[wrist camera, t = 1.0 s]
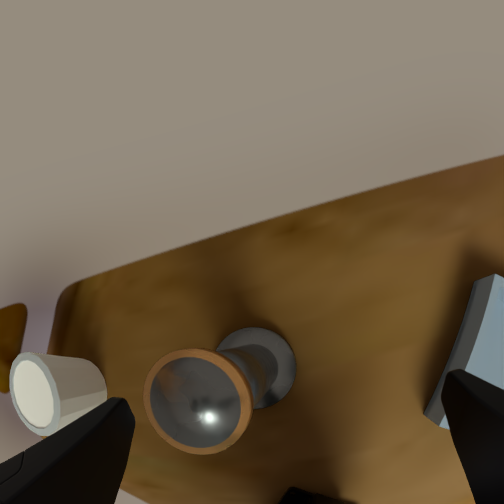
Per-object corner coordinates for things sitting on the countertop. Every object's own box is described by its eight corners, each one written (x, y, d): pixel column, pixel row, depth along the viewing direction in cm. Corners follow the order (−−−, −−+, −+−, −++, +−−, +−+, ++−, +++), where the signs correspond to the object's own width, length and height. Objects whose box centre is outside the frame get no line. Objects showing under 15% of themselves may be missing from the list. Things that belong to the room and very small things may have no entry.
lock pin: (274, 418, 21) (231, 498, 9) (204, 382, 23) (107, 421, 11) (310, 348, 22) (305, 370, 10) (236, 314, 24) (158, 297, 12)
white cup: (105, 434, 23) (55, 452, 16) (56, 400, 25) (5, 407, 18) (119, 370, 24) (65, 377, 18) (67, 340, 26) (13, 337, 19)
